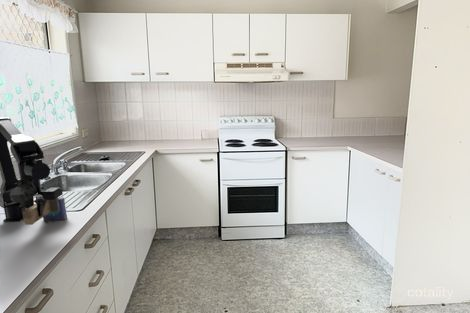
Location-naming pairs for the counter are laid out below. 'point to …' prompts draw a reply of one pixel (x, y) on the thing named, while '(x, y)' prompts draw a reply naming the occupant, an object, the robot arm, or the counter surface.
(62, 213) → the blue painted container
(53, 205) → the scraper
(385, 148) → the counter surface
